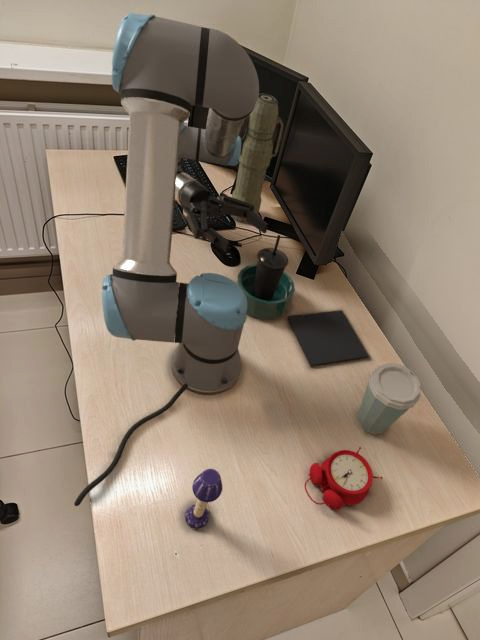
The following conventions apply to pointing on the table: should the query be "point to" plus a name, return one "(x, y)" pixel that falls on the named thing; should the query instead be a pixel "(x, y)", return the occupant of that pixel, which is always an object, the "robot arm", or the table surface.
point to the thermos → (257, 151)
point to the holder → (326, 338)
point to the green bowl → (263, 307)
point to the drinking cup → (269, 271)
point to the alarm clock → (342, 479)
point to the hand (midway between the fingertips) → (247, 237)
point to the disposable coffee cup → (387, 397)
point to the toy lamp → (203, 497)
